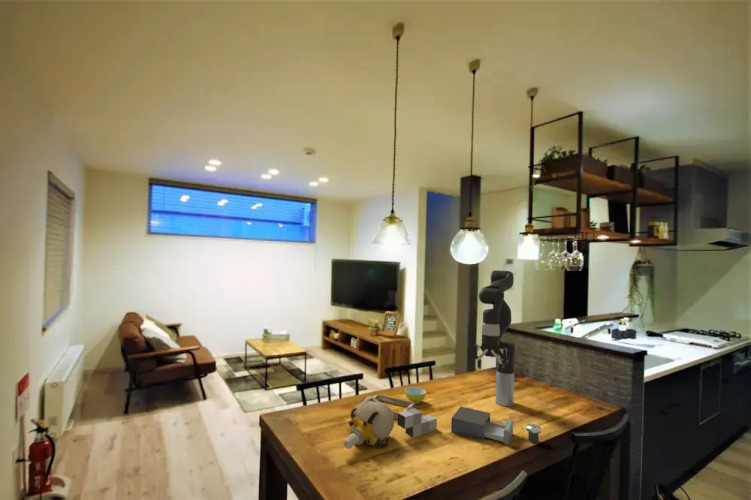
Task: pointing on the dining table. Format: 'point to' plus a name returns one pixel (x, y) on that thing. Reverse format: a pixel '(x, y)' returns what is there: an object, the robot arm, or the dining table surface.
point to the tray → (499, 431)
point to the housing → (469, 422)
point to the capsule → (533, 437)
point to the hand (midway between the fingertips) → (489, 370)
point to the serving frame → (395, 401)
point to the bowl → (415, 394)
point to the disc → (533, 428)
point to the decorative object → (370, 423)
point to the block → (416, 422)
